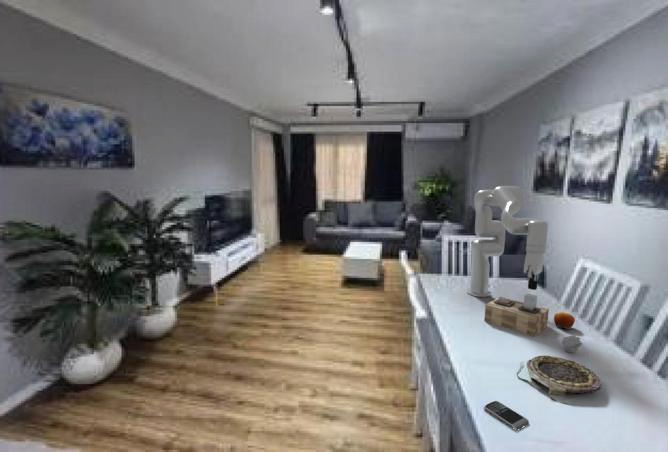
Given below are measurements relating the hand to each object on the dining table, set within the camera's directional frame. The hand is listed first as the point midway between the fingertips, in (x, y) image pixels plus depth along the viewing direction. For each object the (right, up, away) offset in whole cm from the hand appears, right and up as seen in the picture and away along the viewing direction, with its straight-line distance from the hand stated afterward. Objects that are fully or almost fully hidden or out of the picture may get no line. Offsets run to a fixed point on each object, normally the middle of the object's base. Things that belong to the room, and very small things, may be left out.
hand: (532, 288), depth 163 cm
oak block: (-4, -17, +7) cm, 19 cm away
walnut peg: (-8, -16, +11) cm, 21 cm away
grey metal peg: (0, -12, +2) cm, 12 cm away
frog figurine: (+4, -22, -20) cm, 30 cm away
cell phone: (-39, -27, -58) cm, 75 cm away
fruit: (+16, -18, +4) cm, 25 cm away
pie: (-11, -25, -40) cm, 48 cm away
